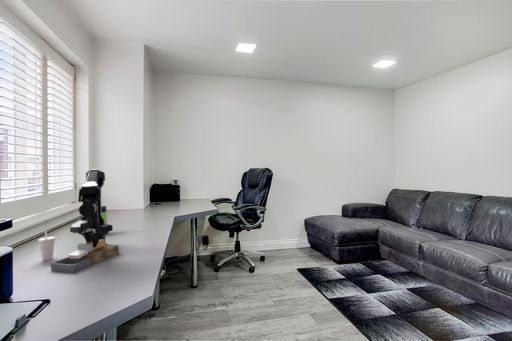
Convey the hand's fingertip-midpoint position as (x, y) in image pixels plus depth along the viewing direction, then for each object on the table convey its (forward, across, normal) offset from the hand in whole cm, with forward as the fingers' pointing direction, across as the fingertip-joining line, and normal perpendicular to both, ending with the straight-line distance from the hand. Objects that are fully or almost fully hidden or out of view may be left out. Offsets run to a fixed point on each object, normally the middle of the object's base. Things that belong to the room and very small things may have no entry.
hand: (92, 247), depth 118 cm
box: (+6, 0, -10) cm, 12 cm away
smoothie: (+6, -22, -4) cm, 23 cm away
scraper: (+1, 0, +1) cm, 1 cm away
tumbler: (+6, -36, +38) cm, 53 cm away
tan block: (+6, 0, +1) cm, 6 cm away
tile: (+2, 0, -7) cm, 7 cm away
